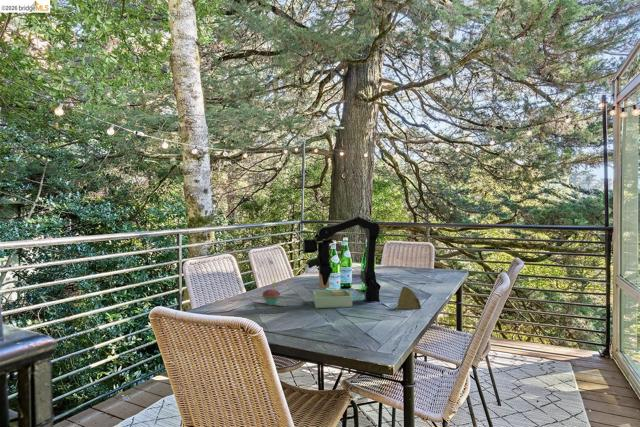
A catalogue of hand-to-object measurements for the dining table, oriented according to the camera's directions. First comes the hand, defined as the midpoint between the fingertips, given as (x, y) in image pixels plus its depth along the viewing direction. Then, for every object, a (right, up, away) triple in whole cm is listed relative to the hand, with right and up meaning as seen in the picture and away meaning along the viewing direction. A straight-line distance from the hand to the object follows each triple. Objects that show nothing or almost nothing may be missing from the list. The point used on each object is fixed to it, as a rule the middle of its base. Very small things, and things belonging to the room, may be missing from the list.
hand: (324, 283), depth 200 cm
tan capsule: (0, -2, 0) cm, 2 cm away
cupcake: (-26, -10, +2) cm, 28 cm away
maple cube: (+7, -9, +1) cm, 12 cm away
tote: (+4, -10, +1) cm, 11 cm away
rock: (+40, -10, -8) cm, 42 cm away
